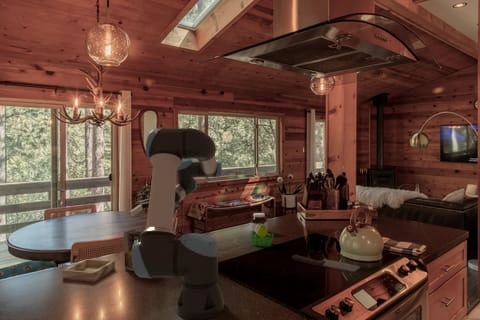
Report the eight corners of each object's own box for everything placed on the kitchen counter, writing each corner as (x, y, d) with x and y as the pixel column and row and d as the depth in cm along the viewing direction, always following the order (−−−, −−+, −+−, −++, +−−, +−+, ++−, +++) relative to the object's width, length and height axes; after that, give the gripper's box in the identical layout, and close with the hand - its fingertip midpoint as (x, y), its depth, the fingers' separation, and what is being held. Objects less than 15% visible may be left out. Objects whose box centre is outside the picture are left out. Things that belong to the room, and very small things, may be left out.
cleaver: (289, 261, 150) (289, 257, 150) (298, 255, 159) (298, 251, 158) (357, 274, 135) (357, 269, 135) (362, 267, 143) (362, 262, 143)
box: (93, 282, 129) (93, 273, 129) (62, 279, 132) (62, 270, 132) (115, 269, 143) (114, 261, 142) (86, 266, 146) (86, 258, 146)
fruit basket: (273, 243, 178) (273, 222, 178) (272, 248, 170) (272, 226, 169) (252, 242, 180) (252, 221, 180) (250, 247, 172) (250, 225, 171)
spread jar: (260, 230, 206) (260, 211, 205) (274, 233, 198) (273, 214, 197) (246, 234, 198) (246, 214, 197) (260, 237, 189) (259, 217, 189)
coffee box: (151, 267, 144) (150, 230, 144) (140, 272, 139) (140, 234, 138) (134, 264, 148) (133, 228, 148) (124, 269, 142) (123, 232, 142)
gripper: (195, 209, 156) (166, 233, 139) (154, 197, 167) (122, 218, 149) (194, 195, 153) (164, 218, 136) (153, 183, 164) (120, 203, 146)
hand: (142, 218), depth 143 cm, fingers open, 13 cm apart
